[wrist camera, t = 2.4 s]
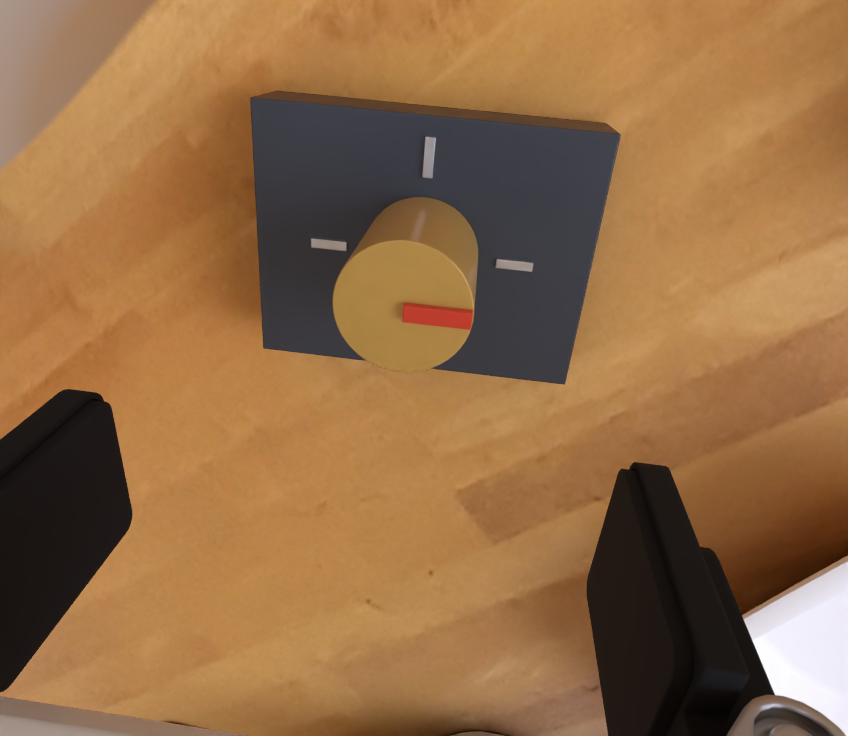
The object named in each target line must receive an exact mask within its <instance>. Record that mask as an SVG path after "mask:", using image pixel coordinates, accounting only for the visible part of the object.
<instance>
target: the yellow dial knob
mask: <svg viewBox="0 0 848 736" xmlns="http://www.w3.org/2000/svg"><path fill="white" fill-rule="evenodd" d="M477 267H478V245H477V240H476V237H475V234H474V232H473V230H472V228H471V226H470V224H469V223H468V221H467V220H466V219H465V218H464V217H463V215H462V214H461V213H460V212H458V211H457V210H456V209H455V208H453V207H452V206H450V205H449V204H447V203H444V202H442V201H440V200H437V199H433V198H427V197H412V198H407V199H402V200H400V201H397V202H395V203H393V204H391V205H390V206H388V207H387V208H385V209H384V210H383V211H382V212H381V213H380V214H379V215H378V216H377V217H376V218H375V220H374V221H373V223H372V224H371V226H370V227H369V229H368V230H367V232H366V233H365V235H364V236H363V238H362V239H361V241H360V242H359V244H358V246H357V247H356V249H355V250H354V252H353V253H352V255H351V256H350V258H349V259H348V261H347V262H346V264H345V265H344V267H343V269H342V270H341V272H340V274H339V276H338V278H337V281H336V283H335V287H334V291H333V301H332V302H333V313H334V318H335V321H336V324H337V327H338V329H339V331H340V333H341V335H342V336H343V338H344V339H345V341H346V342H347V343H348V345H349V346H350V347H351V348H352V349H353V350H354V351H355V352H356V353H357V354H358V355H360V356H361V357H362V358H364V359H365V360H367V361H368V362H370V363H372V364H374V365H376V366H379V367H381V368H384V369H388V370H392V371H397V372H417V371H423V370H427V369H430V368H433V367H435V366H438V365H440V364H442V363H443V362H445V361H447V360H448V359H449V358H451V357H452V356H453V355H455V353H456V352H457V351H458V350H459V349H460V348H461V347H462V345H463V344H464V343H465V341H466V339H467V337H468V335H469V333H470V331H471V328H472V324H473V319H474V308H475V295H476V281H477Z"/></svg>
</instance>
